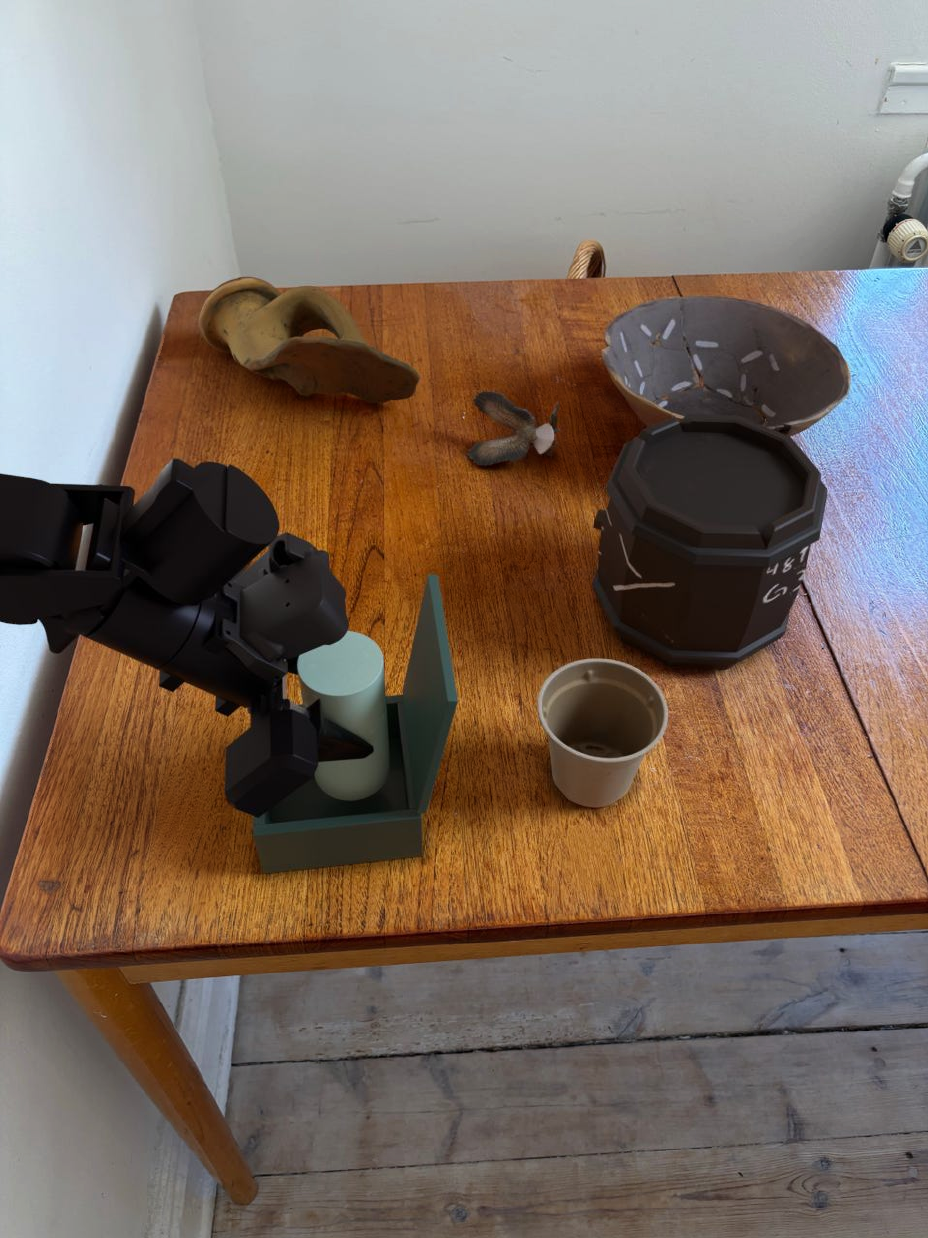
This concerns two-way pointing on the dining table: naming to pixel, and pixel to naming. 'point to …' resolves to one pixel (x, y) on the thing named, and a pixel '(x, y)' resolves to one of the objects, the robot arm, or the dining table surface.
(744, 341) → the bowl
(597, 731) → the flower pot
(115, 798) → the dining table surface
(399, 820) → the box
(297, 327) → the brown looped sculpture
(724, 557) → the black polygonal canister
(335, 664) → the pale green cylinder
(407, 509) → the dining table surface
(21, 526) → the robot arm
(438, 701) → the box lid
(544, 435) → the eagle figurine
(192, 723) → the dining table surface
